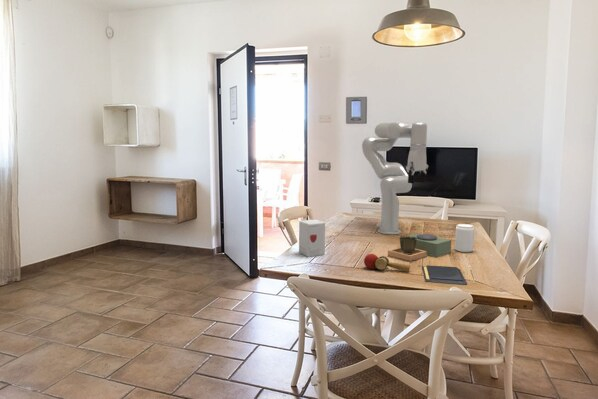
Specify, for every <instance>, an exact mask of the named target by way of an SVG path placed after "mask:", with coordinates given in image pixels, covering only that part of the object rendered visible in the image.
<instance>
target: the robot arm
mask: <svg viewBox="0 0 598 399" xmlns="http://www.w3.org/2000/svg"><path fill="white" fill-rule="evenodd" d="M427 133H428V125H427V123H426V122H382V123H378V124H377V125H376V126H375V127H374V134H375V135H376V136H368V137H366V138H364V139H363V141H362V144H361V149H362V153H363V155H364V157H365V159H366V160H367V161H368V163H369V164H370V165H371V168H372V169H373V171H374V173H375V174H376V177H377V178H378V179H380V184H379V185H380V187H379V188H380V194H381V215H380V219H381V220H380V222H377V224H376V225H375V226H376V228H377V227H378V230H377V232H378V233H379V234H383V235H400V234H401V233H402V229H399V218H400V216H399V215H400V199H399V197H398V196H397V194H402V193H403V194H404V193H409V192H410V191H411V189H412V187H413V184H415V175H414V174H415V172H420V173H419V183H426V177H427V176H426V175H427V172H428V168H429V165H428V164H427ZM405 138H406V139H407V138H408V139H410V144H409V145H410V146H409V147H410V148H409V152H408V156H407V157H408V158H407V165H406V166H405V167H404V166H403V165H402V164H401V163H399V162H388V161H387V160H386V159H385V157H384V156H383V154H381V153H380V152H388V151H390V150H391V149H392V148H393V147H394V145H395V144H396V143H397V141H398V139H405Z"/></svg>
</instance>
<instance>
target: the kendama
mask: <svg viewBox="0 0 598 399" xmlns="http://www.w3.org/2000/svg"><path fill="white" fill-rule="evenodd" d="M363 259H364V260H363V264H364V266H365V267H366V268H368V269H369V270H375V269H377V270H384V269H386V268H387V267H389V268H392V269H395V270H399V271H402V272H406V273H410V268H411V265H410V264H404V263H398V262H390V260H389V258H388V256H384V255H380V256H377V255H376V254H374V253H368V254H367V255H366V256H365V257H364V258H363Z"/></svg>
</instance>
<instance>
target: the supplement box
mask: <svg viewBox="0 0 598 399" xmlns="http://www.w3.org/2000/svg"><path fill="white" fill-rule="evenodd" d="M298 224H299V225H298V226H299V228H298V229H299V230H298V252H299V253H300V254H301V255H304V256H306V257H307V258H311V257H318V256H324V255H325V253H326V251H325V249H326V246H325V245H326V222H324V221H321V220H318V219H306V220H299V222H298Z"/></svg>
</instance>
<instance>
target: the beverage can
mask: <svg viewBox="0 0 598 399" xmlns="http://www.w3.org/2000/svg"><path fill="white" fill-rule="evenodd" d="M454 238H455V239H454V250H456V251H457V252H460V253H471V252H473V251H474V243H475V242H474V241H475V228H474V225H472V224H467V223H459V224H456V227H455V235H454Z"/></svg>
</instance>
